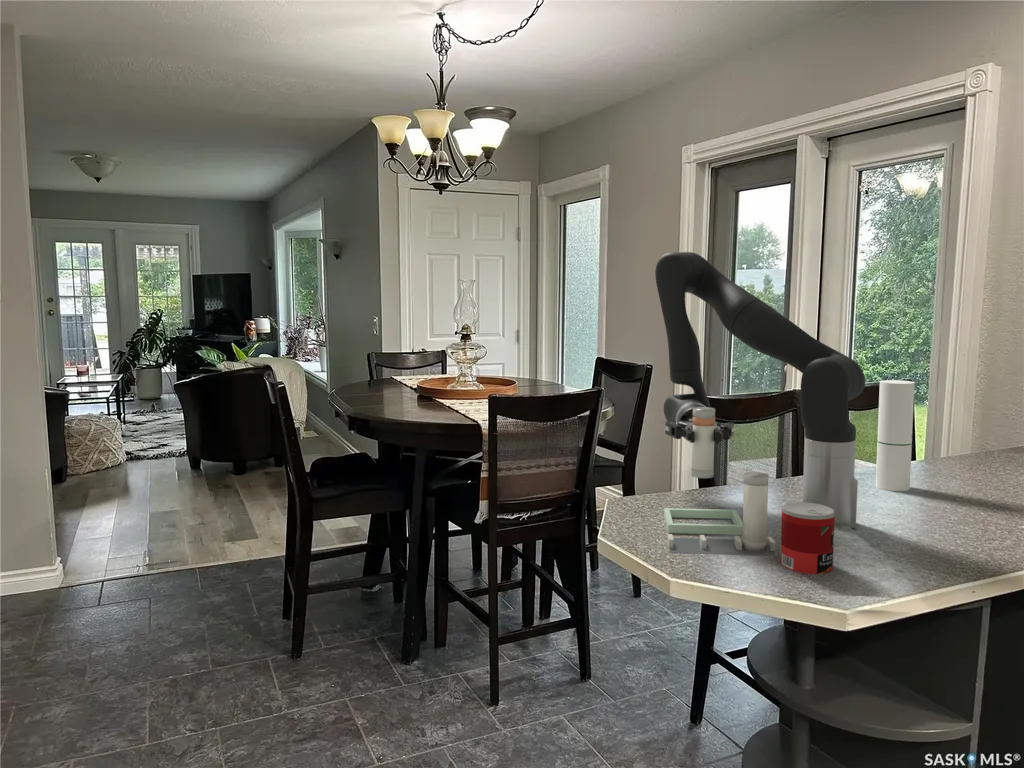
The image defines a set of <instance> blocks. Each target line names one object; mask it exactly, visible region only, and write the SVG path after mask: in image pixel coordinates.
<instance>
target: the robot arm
mask: <svg viewBox="0 0 1024 768" xmlns="http://www.w3.org/2000/svg"><path fill="white" fill-rule="evenodd" d="M654 273H655V282H656V283H655V284H656V289H657V294H658V299H659V303H660V308H661V311H662V316H663V321H664V326H665V330H666V331H665V332H666V338H667V346H668V349H667V350H668V362H669V364H668V365H669V366H668V367H669V378H670V381H671V382H672V383H673V384H675V385H680V386H686V387H687V386H688V387H690V388H691V389H692V391H693V393H682V394H673V395H672V394H671V395H669V396H668V397H667V398H666V399H665V401H664V403H663V414H664V418H665V419H666V421H665V424H664V426H665V428H664V430H665V432H664V433H665V435H667V436H669V437H672V438H673V439H676V440H681V439H682V438H683V439H684V440H686V441H687V442H690V444H692V443H694V442H695V431H694V430H693V408H696V407H709V408H712V407H711V404H710V401H709V398H708V395H707V392H706V389H705V387H704V382H703V377H702V369H701V365H702V364H701V351H700V344H699V341H698V337H697V335H696V333H695V330H694V328H693V327H692V324H691V322H690V319H689V316H688V313H687V309H686V307H687V306H686V293H687V294H691V295H693V296H696V297H697V298H699V299H700V300H703V302H705V303H707V304H708V305H709V306H711V308H713V310H714V311H715V313H716V314H717V317H718V318H719V320H720V322H721V324H722V325H723V326H724V328H725V329H726V330H727V332H729V333H730V334H731V335H732V336H734V338H735V337H736V339H738V340H740V341H741V342H742V343H743V344H745V345H746V346H748V347H749V348H751V349H753V350H755V351H757V352H758V353H759V352H760V353H761V354H763V355H765V356H768V357H771V358H772V359H774V360H778V361H779V362H783V363H786V364H787V365H789V366H791V367H793V368H794V369H796V370H798V371H799V372H800V373H801V374H802V375H801V378H800V379H801V380H800V419H801V420H800V421H801V424H802V426H803V430H804V447H803V448H804V449H803V451H804V452H803V477H802V479H803V480H802V481H803V482H802V483H803V485H802V502H806V503H815V504H820V505H824V506H827V507H829V508H831V509H833V510H834V514H835V524H846V525H847V526H848V527H849V528H850V529H856V528H857V510H858V509H857V508H858V486H859V485H858V484H859V483H858V479H857V478H855V468H856V467H855V466H856V464H855V463H856V439H857V428H856V425H855V424H854V423H852V422H851V421H850V418H849V401H852V400H855V398H857V397H858V396H860V395H861V394H862V393H863V391H864V389H865V386H866V377H865V373H864V371H863V369H862V368H861V366H860V365H859V364H858V362H856V361H855V360H854V359H853V358H850V357H849V356H847V355H845V354H843V353H842V352H840V351H838V350H836V349H834V348H832V347H830V346H829V345H826V344H825V343H823V342H821V341H819V340H818V339H816V338H814V337H813V336H812V335H810V334H808V333H807V332H806V331H805V330H804V329H802V328H800V327H799V326H798V325H797V324H795V323H794V322H792V321H791V320H790V319H788V318H787V317H785V316H784V315H782V313H780V312H778V311H777V310H776V309H774V308H773V307H772V306H770V305H769V304H767V303H766V302H765V301H763V300H761V299H760V298H758V297H757V296H755V295H753V294H752V293H750V292H749V291H747V290H746V289H745V288H743V287H742V286H740V285H739V284H737V283H735V282H733V281H732V280H730V279H729V278H727V276H725V275H723V273H721V272H720V271H719V270H718V269H717V268H716V267H715V266H713V265H712V264H711V263H710V262H709V261H708V260H707V259H705V258H704V257H703V256H702V255H700V254H698V253H695V252H692V251H681V252H680V251H676V252H675V251H673V252H667V253H665V254H663V255H662V256H661V257H660V258H659V259H658V261H657V262H656V265H655V272H654ZM734 427H735V422H732V421H729V422H726V423H725V422H724V424H723V425H721V422H718V421H717V420H716V419H715V425H714V444H720V442H723V440H724V441H729V440H730V439H731V438H732V437H733V436H734V435H735V433H734V432H735V428H734Z"/></svg>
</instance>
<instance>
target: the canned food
mask: <svg viewBox="0 0 1024 768" xmlns="http://www.w3.org/2000/svg"><path fill="white" fill-rule="evenodd" d="M781 507H782V509H781V528H780V529H781V533H780V534H781V535H780V537H781V538H780V564H781V566H783V567H784V568H785V569H788V570H790V571H793V572H797V573H801V574H808V575H824V574H827V573H831V572H832V571H833V569H834V551H835V550H834V548H835V546H834V544H835V542H834V541H835V514H834V510H833V509H831V508H829V507H827V506H824V505H820V504H815V503H806V502H803V501H800V502H798V501H795V502H794V501H793V502H789V503H784V504H783V505H782V506H781Z"/></svg>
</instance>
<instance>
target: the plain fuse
mask: <svg viewBox="0 0 1024 768" xmlns="http://www.w3.org/2000/svg"><path fill="white" fill-rule="evenodd" d="M769 476H770V475H769V474H768V473H765V472H761V471H746V472H744V473H743V480H742V481H743V496H742V497H743V499H742V500H743V501H742V502H743V503H742V506H743V507H742V522H743V535H742V539H741V540H742V547H743V548H744V549H746V550H750V551H764V550H766V549H767V537H768V503H769V501H768V500H769V496H768V495H769V494H768V493H769Z"/></svg>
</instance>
